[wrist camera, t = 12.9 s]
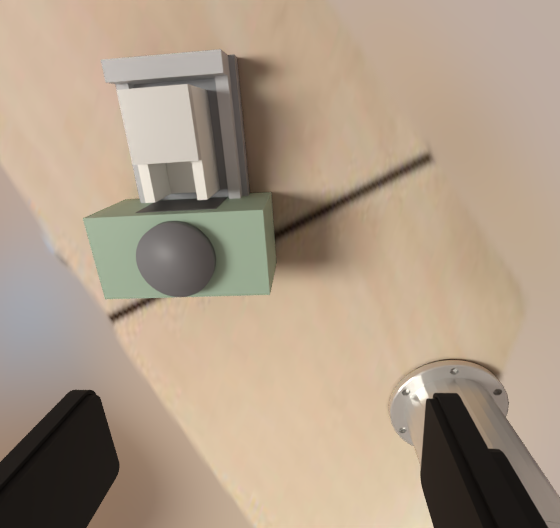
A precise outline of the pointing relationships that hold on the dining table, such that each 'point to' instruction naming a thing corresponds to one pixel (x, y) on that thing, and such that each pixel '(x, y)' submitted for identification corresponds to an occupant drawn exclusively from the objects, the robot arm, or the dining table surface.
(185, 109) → the white box on legs
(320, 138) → the dining table surface
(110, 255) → the toy coffee machine
